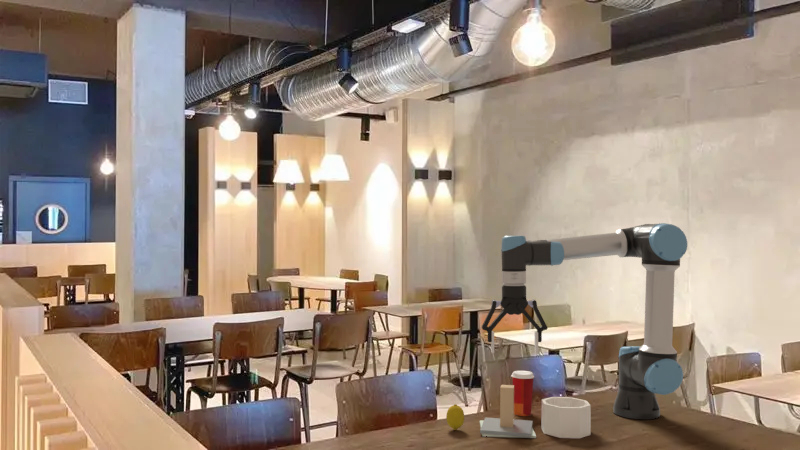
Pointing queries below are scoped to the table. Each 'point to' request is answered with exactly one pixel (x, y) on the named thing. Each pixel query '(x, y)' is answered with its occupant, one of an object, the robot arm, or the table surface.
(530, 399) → the paper cup
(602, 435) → the table surface
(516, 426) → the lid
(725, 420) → the table surface
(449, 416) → the lemon
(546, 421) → the bowl
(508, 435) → the mat
